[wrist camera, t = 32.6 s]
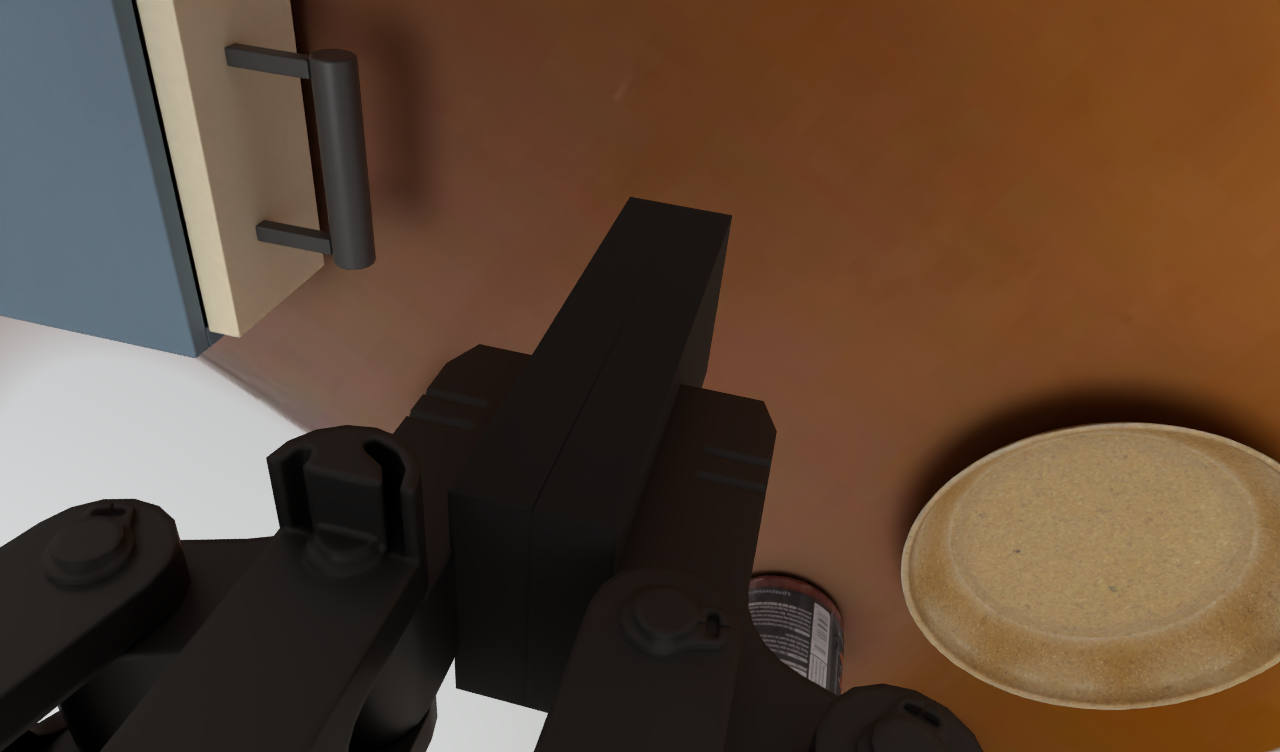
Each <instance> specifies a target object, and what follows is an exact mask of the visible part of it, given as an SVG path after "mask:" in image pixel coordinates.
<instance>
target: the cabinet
mask: <svg viewBox="0 0 1280 752" xmlns="http://www.w3.org/2000/svg"><path fill="white" fill-rule="evenodd" d="M0 316H4V317H9V318H13V319H18V320H22V321H27V322H32V323H36V324H41V325H46V326H50V327H54V328H59V329H64V330H68V331H73V332H77V333H82V334H87V335H91V336H96V337H101V338H105V339H110V340H114V341H119V342H123V343H128V344H133V345H137V346H142V347H147V348H151V349H156V350H160V351H165V352H169V353H174V354H179V355H183V356H188V357H192V358H197V357H198V356H199V355H201V354H202V353H203V352H204V351H205V350H207V349H208V348H209V347H211V346H212V345H213V344H214V343H216V342H217V341H218V340H219V339H220V338H222V337H223V336H224V335H225V334H220V333H215V332H211V331H210V330H209V326H208V321H207V317H206V312H205V308H204V303H203V299H202V294H201V290H200V286H199V287H198V288H196V286H195V282H194V277H193V273H192V268H191V264H190V259H189V255H188V251H187V246H186V242H185V237H184V233H183V228H182V224H181V219H180V215H179V211H178V206H177V202H176V197H175V193H174V188H173V184H172V179H171V175H170V171H169V166H168V162H167V157H166V153H165V148H164V144H163V139H162V135H161V131H160V126H159V122H158V117H157V113H156V108H155V104H154V100H153V95H152V91H151V86H150V82H149V77H148V73H147V68H146V64H145V60H144V55H143V51H142V46H141V42H140V37H139V33H138V28H137V24H136V20H135V15H134V11H133V6H132V2H131V0H0Z"/></svg>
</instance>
